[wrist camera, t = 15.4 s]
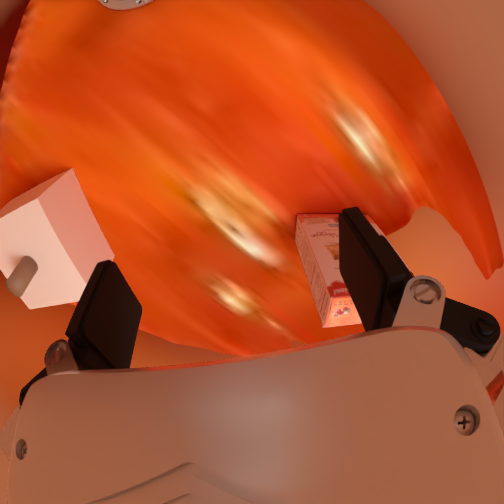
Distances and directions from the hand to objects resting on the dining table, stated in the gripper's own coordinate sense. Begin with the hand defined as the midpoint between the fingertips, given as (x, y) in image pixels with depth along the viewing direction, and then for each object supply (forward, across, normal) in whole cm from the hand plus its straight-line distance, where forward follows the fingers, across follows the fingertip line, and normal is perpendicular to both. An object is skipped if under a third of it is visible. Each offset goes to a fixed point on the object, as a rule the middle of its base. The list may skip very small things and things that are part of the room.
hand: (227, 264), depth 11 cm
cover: (+33, +37, +9) cm, 50 cm away
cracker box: (+34, -14, +22) cm, 42 cm away
